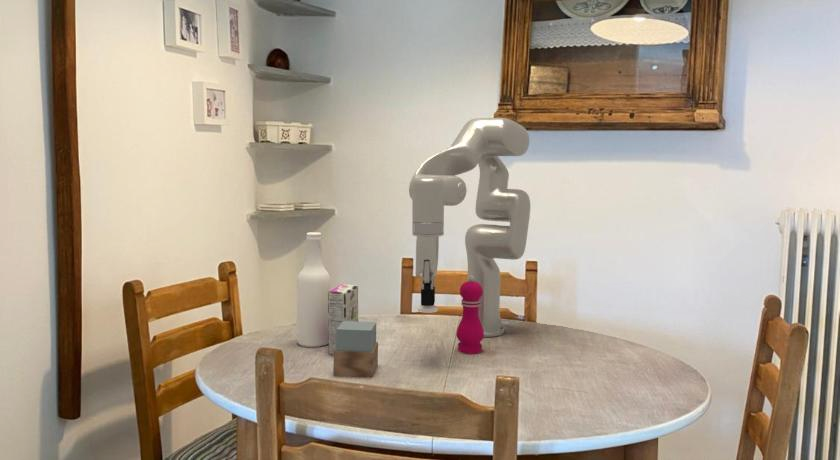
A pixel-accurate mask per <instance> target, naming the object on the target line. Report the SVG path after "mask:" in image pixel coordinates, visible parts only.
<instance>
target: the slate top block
mask: <svg viewBox="0 0 840 460" xmlns="http://www.w3.org/2000/svg"><path fill="white" fill-rule="evenodd" d="M376 342H377V321H376V322H375V321H358V322H356V321H343V322H342V323H341V324H340V325H339V327H338V328H337V329H336V351H355V352H371V351H372V349H373V348H374V346H375V344H376Z"/></svg>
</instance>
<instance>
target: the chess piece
mask: <svg viewBox="0 0 840 460" xmlns="http://www.w3.org/2000/svg"><path fill="white" fill-rule="evenodd" d="M417 308H418V309H417V311H418V312H419V313H424V314H425V313H427V314H429V313H430V314H431V313H432V314H433V313H437V312H438V311H439V309H438V308H439V307H438V306H437V305H435V304H434V306H422V305H421V304H420V305H419V306H418V307H417Z"/></svg>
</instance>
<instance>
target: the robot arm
mask: <svg viewBox="0 0 840 460" xmlns="http://www.w3.org/2000/svg"><path fill="white" fill-rule="evenodd" d="M529 146H530V135H529V132H528V130H527V128H525V127H524V126H523V125H522V124H519V123H518V122H516V121H514V120H512V119H509V118H506V117H476V118H473V119H472V118H471V119H470V120H468V121H467V122H466V123H465V124H464V126H463V127H462V129H460V131H459V133H458V134H457V136H456V137H455V139H454V140H453V142H452V144H451V146H450V147H447V148H446V149H444V150H441V151H440V152H438V153H436V154H434V155H432V156H430V157H429V158H427V159H426V160H424V161H423V162H422V163H421V164H420V165H419V167H418V168H417V170H415V172H414V174H413V176H412V178H411V180H410V182H409V186H408V192H409V197H410V199H411V200H412V209H411V210H412V212H411V213H412V215H411V216H412V217H411V218H412V220H411V221H412V224H411V227H412V228H411V229H412V236H415V237H416V240H415V277H416V278H419V277H421V288H420V306H421V305H422V306H434V305H435V302H436V286H435V277H436V276H437V272H438V266H439V247H440V246H439V240H440V238H439V237H442V236H444V234H445V233H444V232H445V231H444V230H445V229H444V226H445V212H444V211H445V206H447V207H450V206H452V207H454V206H457V205H459V204H461V203H462V202H463V201H464V200H465V197H467V196H466V195H467V192H468V191H467V185H466V182H465V181H464V179H462V178H461V177H459V175H462V174H465V173H468V172H470V171H472V170H474V169H475V168H476V167H477V166H478V168H479V179H478V187H477V192H476V198H475V214H476V216H477V218H479V219H481V220H483V221H487V222H489V221H491V222H503V223H504V222H505V223H506V222H507V223H509V225H501V224H499V225H498V224H487V223H485V224H484V223H480V224H474V225H472V226H470V227H469V228H467V230H466V233H465V235H464V236H465V237H464V245H465V250H466V256H467V259H466V261H467V278H468V277H469V276H471V275H472V276H474V277H475V281H474V282H477V283H479V284H480V285H481V286H482V289H483V294H482V296H481V297H480V299H479V300H480V301H481V302H480V304H481V305H480V306H479V310H478V313H479V319H480V322H481V325H482V327H483V331H484V338H485V337H487V338H489V337H490V338H491V337H493V338H494V337H498V336H501V335H503V334H504V333H505V328H514V329H515V328H516V321H515V320H511V319H503V318H501V315H500V304H501V303H500V302H501V297H500V296H501V271H500V267H499V266H498V264H497V262H496V261H495V259H501V260H515V261H516V260H519V259H521V258H522V257H523V256H524V253H525V252H526V245H527V240H528V231H529V223H530V217H531V199H530V196H529V194H528V193H527V192H526V191H524V190H522V189H518V188H516V189H515V188H508V186H509V185H508V184H509V177H510V174H509V170H508V167H506V165H505V163H504V162H503V160H501V158H500V157H521V156H523V155H525V154H526V153H527V151H528V149H529ZM468 281H469V280H468V279H467V281H466V282H468Z"/></svg>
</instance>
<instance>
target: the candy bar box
mask: <svg viewBox="0 0 840 460" xmlns="http://www.w3.org/2000/svg"><path fill="white" fill-rule="evenodd" d="M343 321H356V322H359V285H358V284H351V283H350V284H349V283H348V284H347V283H342V284H339V285H338V286H336V287H335V288H333V289H330V291H329V292H328V329H329V343H328V355H331V356H334V350H335V349H336V329H337V328H338V327H339V325H340V324H341V323H342V322H343Z"/></svg>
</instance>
